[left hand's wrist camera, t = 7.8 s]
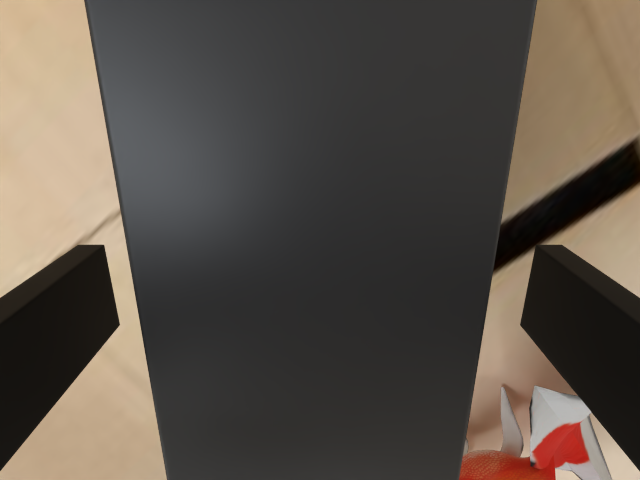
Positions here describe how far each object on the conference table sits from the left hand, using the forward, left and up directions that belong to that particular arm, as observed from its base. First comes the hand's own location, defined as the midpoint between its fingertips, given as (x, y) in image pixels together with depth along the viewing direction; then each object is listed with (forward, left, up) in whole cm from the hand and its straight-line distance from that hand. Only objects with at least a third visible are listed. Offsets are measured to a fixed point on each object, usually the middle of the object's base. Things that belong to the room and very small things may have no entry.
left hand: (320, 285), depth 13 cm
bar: (+8, 0, -3) cm, 8 cm away
